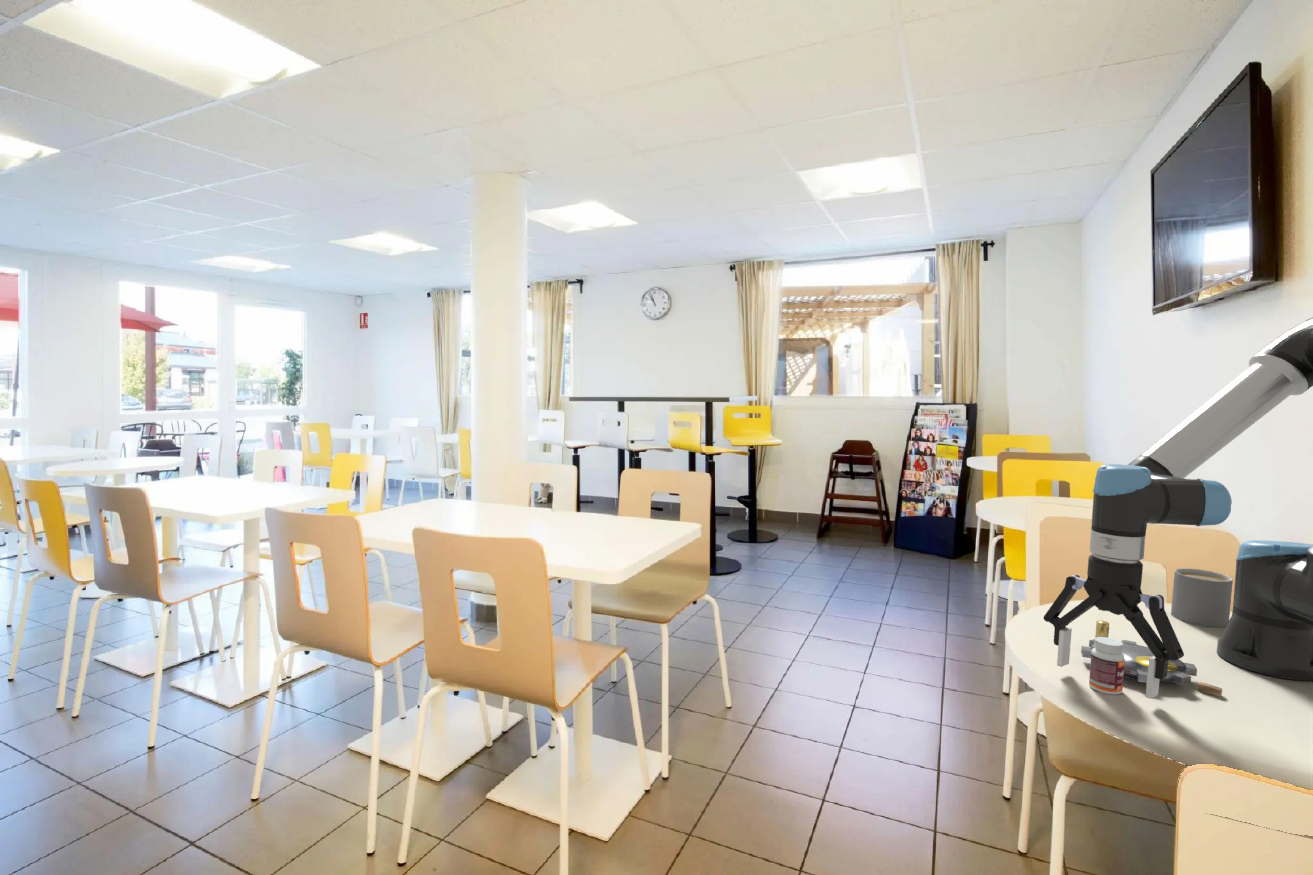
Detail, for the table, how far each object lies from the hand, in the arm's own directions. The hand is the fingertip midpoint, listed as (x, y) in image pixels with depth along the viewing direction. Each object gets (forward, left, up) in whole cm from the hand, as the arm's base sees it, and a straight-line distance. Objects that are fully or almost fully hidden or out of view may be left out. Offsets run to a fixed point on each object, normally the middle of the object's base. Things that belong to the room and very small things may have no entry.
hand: (1105, 679), depth 113 cm
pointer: (-16, -7, -2) cm, 17 cm away
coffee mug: (-24, -52, -2) cm, 57 cm away
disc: (-6, -11, 0) cm, 13 cm away
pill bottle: (0, 0, -2) cm, 2 cm away
